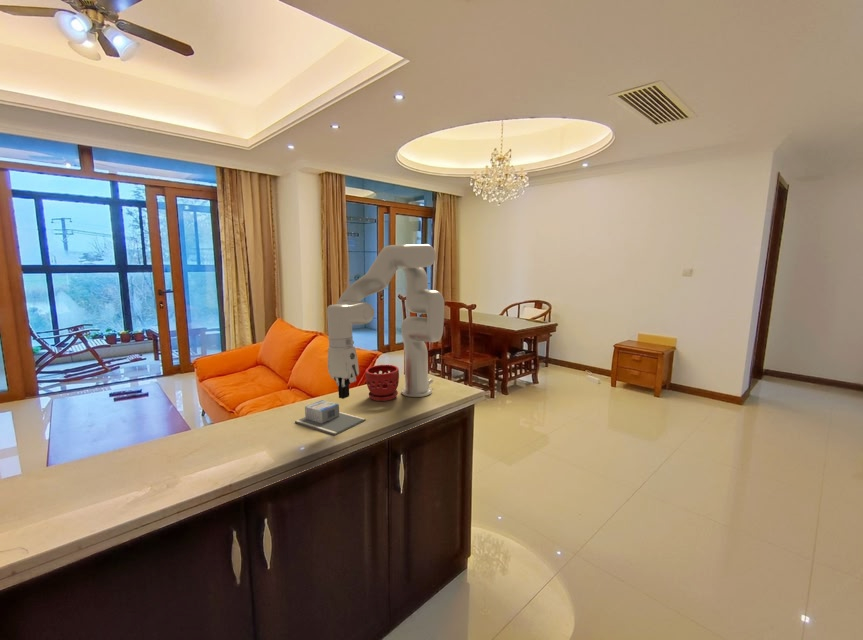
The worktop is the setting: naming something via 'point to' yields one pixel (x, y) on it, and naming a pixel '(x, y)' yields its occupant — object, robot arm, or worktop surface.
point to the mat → (333, 423)
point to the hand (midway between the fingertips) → (344, 397)
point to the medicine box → (322, 411)
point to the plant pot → (382, 382)
